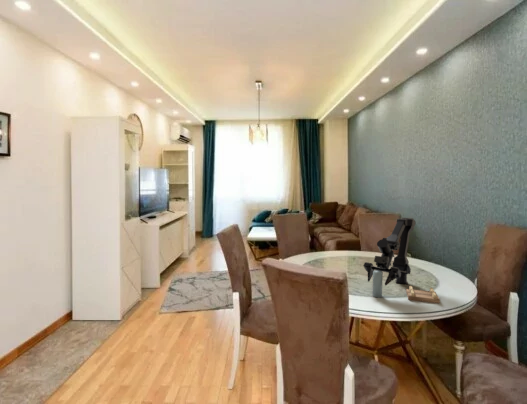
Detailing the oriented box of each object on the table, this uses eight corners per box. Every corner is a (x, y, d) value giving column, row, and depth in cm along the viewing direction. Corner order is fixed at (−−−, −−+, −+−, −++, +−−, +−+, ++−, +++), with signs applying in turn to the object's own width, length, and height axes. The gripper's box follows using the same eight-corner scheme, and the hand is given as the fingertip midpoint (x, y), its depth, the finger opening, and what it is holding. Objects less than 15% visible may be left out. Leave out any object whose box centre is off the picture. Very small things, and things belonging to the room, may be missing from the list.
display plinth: (406, 292, 175) (406, 285, 175) (435, 295, 171) (435, 288, 170) (408, 300, 164) (408, 292, 164) (439, 303, 159) (439, 295, 159)
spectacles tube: (372, 294, 173) (372, 270, 172) (381, 295, 171) (382, 270, 170) (372, 297, 168) (372, 272, 167) (382, 298, 167) (382, 273, 166)
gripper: (365, 247, 178) (355, 271, 171) (399, 252, 165) (390, 278, 158) (371, 259, 184) (361, 282, 177) (405, 265, 171) (396, 290, 164)
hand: (376, 283), depth 169 cm, fingers open, 9 cm apart
